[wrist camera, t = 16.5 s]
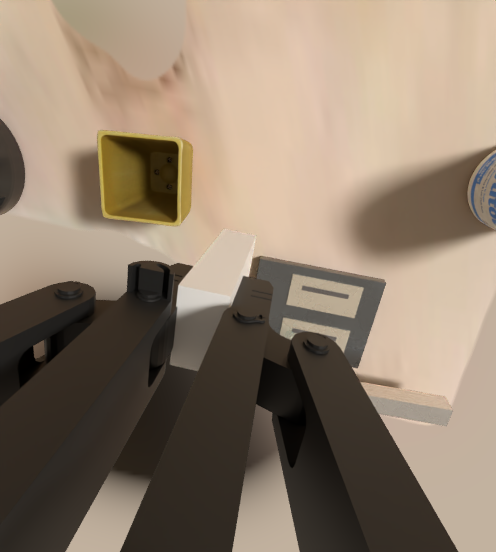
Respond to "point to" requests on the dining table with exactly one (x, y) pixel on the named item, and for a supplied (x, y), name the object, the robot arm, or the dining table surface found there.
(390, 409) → the swing bar
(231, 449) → the robot arm
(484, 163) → the supplement tub
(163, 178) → the flower pot
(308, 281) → the label plate
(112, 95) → the dining table surface
